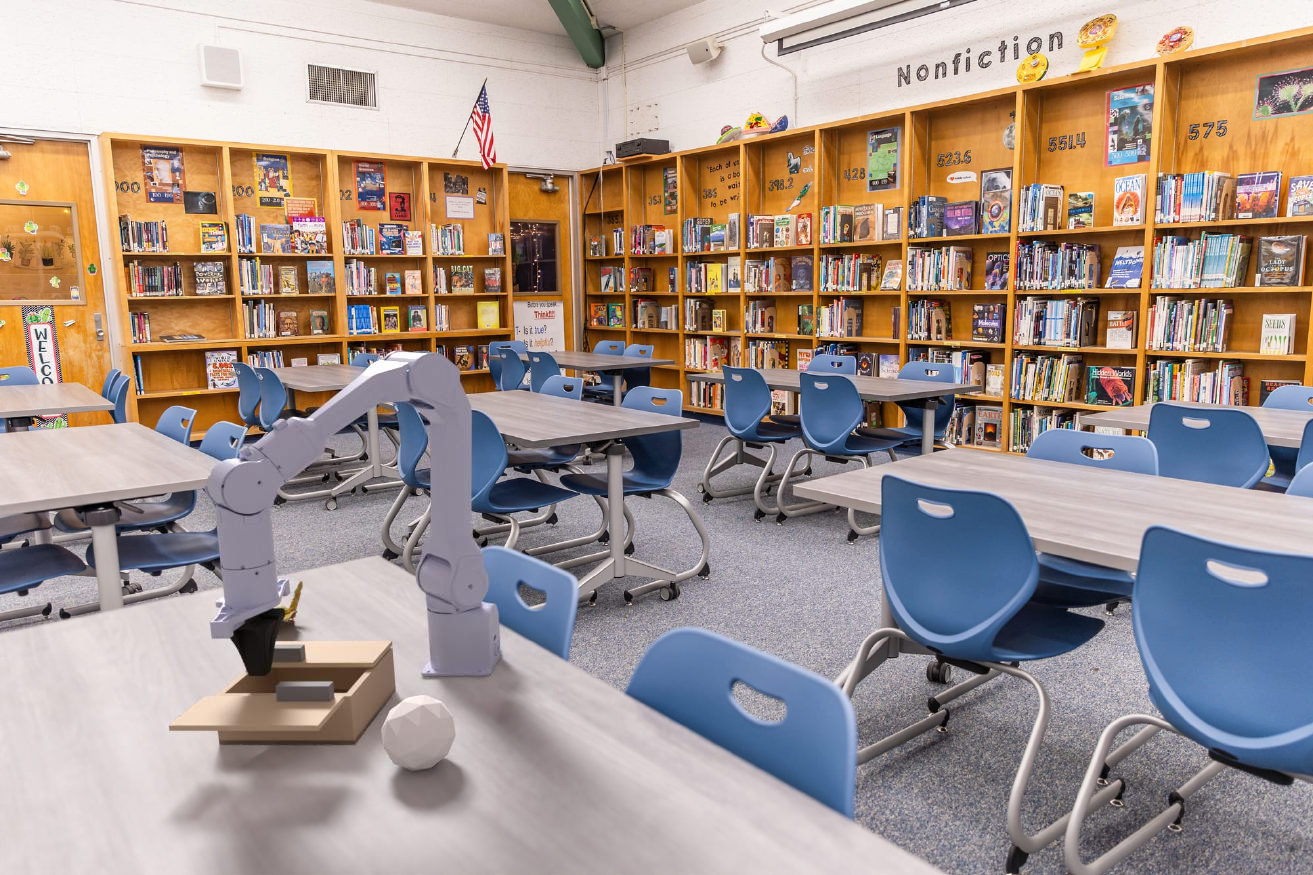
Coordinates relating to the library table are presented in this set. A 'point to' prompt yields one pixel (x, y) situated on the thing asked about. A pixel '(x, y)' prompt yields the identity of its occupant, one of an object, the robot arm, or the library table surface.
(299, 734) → the carton
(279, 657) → the right flap
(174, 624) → the library table surface
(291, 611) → the yellow dragon figurine
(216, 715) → the left flap
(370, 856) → the library table surface
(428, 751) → the geometric ball
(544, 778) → the library table surface
